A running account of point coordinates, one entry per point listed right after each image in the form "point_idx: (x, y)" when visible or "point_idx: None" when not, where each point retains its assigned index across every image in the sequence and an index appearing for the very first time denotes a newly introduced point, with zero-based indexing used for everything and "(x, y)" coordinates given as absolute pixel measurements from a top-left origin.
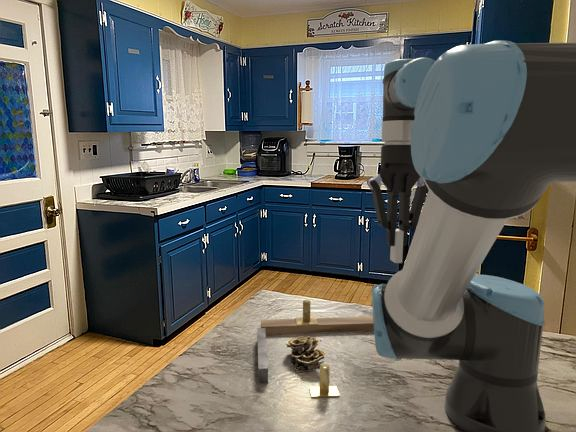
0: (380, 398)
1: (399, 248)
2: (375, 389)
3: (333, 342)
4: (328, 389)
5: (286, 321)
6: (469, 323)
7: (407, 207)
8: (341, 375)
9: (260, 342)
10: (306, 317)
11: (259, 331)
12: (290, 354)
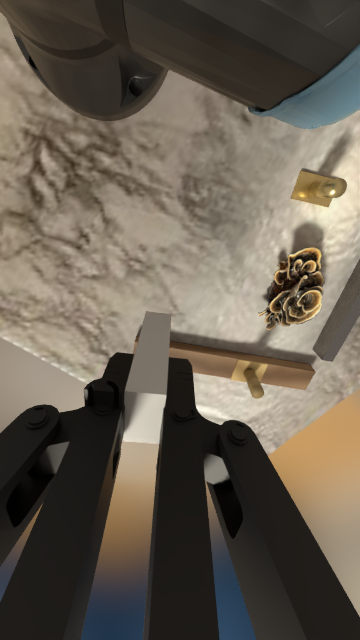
0: (245, 146)
1: (153, 339)
2: (239, 174)
3: (227, 321)
4: (315, 182)
5: (274, 378)
6: None
7: (39, 577)
8: (265, 229)
9: (352, 321)
10: (253, 372)
11: (335, 352)
12: (322, 285)
